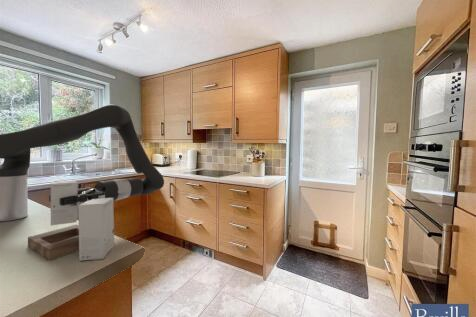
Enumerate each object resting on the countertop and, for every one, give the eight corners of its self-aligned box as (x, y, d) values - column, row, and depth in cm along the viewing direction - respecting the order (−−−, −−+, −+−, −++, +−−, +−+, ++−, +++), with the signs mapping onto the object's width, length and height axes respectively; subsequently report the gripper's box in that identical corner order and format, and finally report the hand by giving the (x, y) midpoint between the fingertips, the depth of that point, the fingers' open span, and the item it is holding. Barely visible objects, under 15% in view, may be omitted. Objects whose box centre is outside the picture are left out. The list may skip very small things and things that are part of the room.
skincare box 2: (103, 259, 54) (103, 203, 54) (77, 261, 53) (76, 204, 52) (114, 245, 62) (115, 196, 62) (92, 246, 61) (92, 197, 61)
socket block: (28, 247, 60) (27, 237, 60) (76, 233, 70) (76, 224, 70) (49, 260, 53) (49, 249, 53) (99, 242, 64) (99, 233, 64)
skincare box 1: (50, 226, 58) (48, 183, 57) (53, 221, 62) (52, 181, 61) (77, 222, 61) (76, 182, 61) (79, 217, 65) (78, 179, 64)
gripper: (101, 178, 77) (43, 184, 62) (125, 181, 70) (66, 190, 55) (102, 198, 77) (44, 209, 63) (125, 203, 71) (67, 217, 56)
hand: (54, 200), depth 59 cm, fingers closed on skincare box 1, 6 cm apart
